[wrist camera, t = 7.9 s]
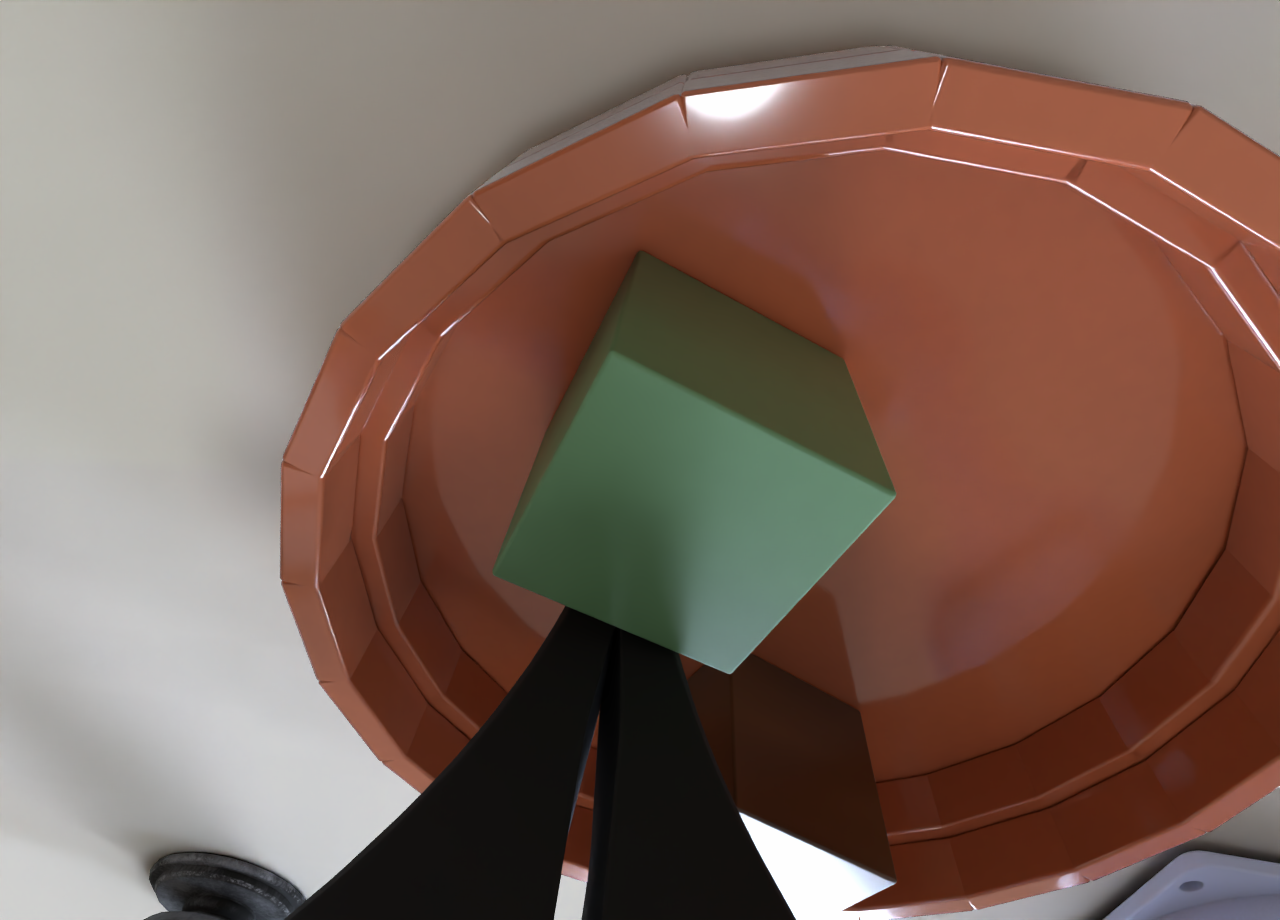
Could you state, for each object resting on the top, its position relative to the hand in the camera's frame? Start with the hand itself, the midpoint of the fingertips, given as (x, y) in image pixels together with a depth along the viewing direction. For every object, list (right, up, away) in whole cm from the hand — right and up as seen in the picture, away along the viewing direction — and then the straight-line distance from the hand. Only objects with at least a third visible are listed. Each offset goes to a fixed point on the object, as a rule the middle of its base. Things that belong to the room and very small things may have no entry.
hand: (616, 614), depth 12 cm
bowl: (+3, +1, +1) cm, 4 cm away
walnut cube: (+3, -3, +4) cm, 5 cm away
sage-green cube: (+1, +4, -1) cm, 4 cm away
